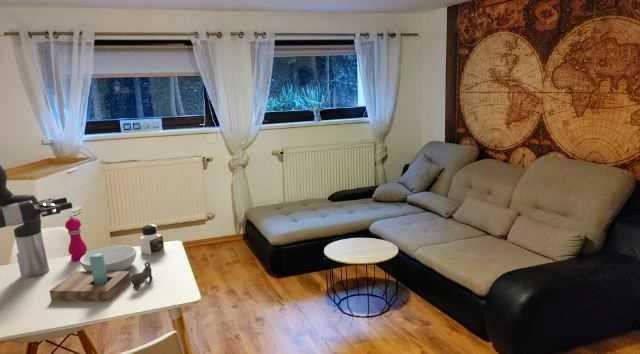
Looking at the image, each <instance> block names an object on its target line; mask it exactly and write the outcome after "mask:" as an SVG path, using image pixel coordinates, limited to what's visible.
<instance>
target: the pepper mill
mask: <svg viewBox="0 0 640 354" xmlns="http://www.w3.org/2000/svg"><path fill="white" fill-rule="evenodd" d="M81 225H82V221H80V219H78V218H77V217H74V215H73V214H71V215H69V219H67V221H66V222H65V225H64V226H65V227H64V228H66V230H67V234H68V235H69V238H70V242H69V245H68V254H69V255H71V256H70V260H71V261H72V262H76V263H77V262H80V259H81V257H82V256H84V255H85V254H87V253H88V252H87V250H88V247H87V244H86V242H85V241H84V240H83V238H82V237H81V232H82V231H81Z"/></svg>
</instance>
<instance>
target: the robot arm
mask: <svg viewBox="0 0 640 354" xmlns="http://www.w3.org/2000/svg"><path fill="white" fill-rule="evenodd" d="M7 176H8V175H7V172H6V171H5V169H4V167H3V166H2V165H1V164H0V229H2V228H6V227H13V226H17V225H18V226H17V227H15V228H14V229H13V234H14V239H15V244H16V248H17V253H16V257H17V265H18V268H19V273H20V276H21V277H22V276H23V277H25V278H35V277H39V276H42V275H44V274H47V273H48V272H49V271H50V267H49V262H48V257H47V252H46V248H45V243H44V237H43V233H42V227H41V226H42V218H44V217H48V216H53V215H58V214H61V212H62V211H65V210H70V209H73V203H72V202H71V201H69V202H68V198H67V197H60V198H56V199H55V198H51V197H49V198H47V199H42V200H38V199H37V197H36V196H35V195H33V194H13V193H12V192H11V191H10V189H8V187H7V182H8V181H7V180H8V177H7Z"/></svg>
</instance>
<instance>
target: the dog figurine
mask: <svg viewBox="0 0 640 354" xmlns="http://www.w3.org/2000/svg"><path fill="white" fill-rule="evenodd" d="M148 278H149V281H148V285H151V284H152V282H153V276H152V267H151V263H149V261H146V262H145V263H144V268H143V270H142V272H138V273H134V274H130V276H129V280H130V283H131V284H132V285H133V286H132V288H133V289H135V291H139V289H140V287H141V285H143V284H144V283H145V282H146V280H147V279H148Z"/></svg>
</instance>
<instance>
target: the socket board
mask: <svg viewBox="0 0 640 354" xmlns="http://www.w3.org/2000/svg"><path fill="white" fill-rule="evenodd" d="M106 273H107V278H108V282H107V283H106V284H105V285H95V284H94V279H93V274H92V271H86V270H84V271H80V270H79V271H75V272H73V273H72V274H71V275H69V276H68V277H66V279H64V280H62V281H61V282H60V283H58V284H57V285H55V286H54V287H52V289H50V290H49V295H50V300H51V302H101V303H102V302H111V300H112V299H114V297H116V296H117V295H118V294H119V293H120V292H121V291H122V290H124V289H125V287H127V286H128V285H129V284H130V283H131V282H130V280H129V276H130V275H131V271H127V270H125V271H124V270H122V271H106Z"/></svg>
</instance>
